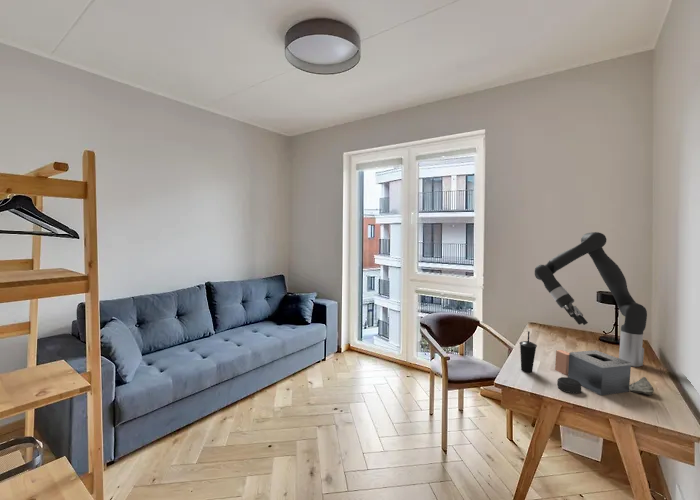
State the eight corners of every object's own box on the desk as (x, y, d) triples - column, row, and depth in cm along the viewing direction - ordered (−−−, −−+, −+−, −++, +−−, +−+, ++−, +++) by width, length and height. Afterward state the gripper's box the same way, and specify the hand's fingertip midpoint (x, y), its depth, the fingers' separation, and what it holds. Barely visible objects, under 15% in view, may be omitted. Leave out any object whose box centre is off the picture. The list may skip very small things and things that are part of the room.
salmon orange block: (555, 369, 169) (556, 350, 169) (560, 369, 170) (561, 350, 170) (565, 374, 164) (566, 354, 163) (571, 374, 165) (572, 354, 164)
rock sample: (619, 376, 154) (639, 368, 149) (629, 386, 155) (650, 379, 150) (629, 395, 145) (651, 387, 140) (640, 406, 146) (662, 398, 141)
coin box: (594, 376, 163) (595, 350, 162) (628, 391, 147) (631, 362, 147) (567, 379, 159) (569, 352, 158) (600, 395, 143) (602, 365, 142)
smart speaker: (554, 389, 148) (555, 380, 148) (560, 383, 155) (560, 374, 154) (578, 396, 142) (578, 387, 142) (583, 390, 148) (583, 381, 148)
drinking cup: (533, 369, 170) (535, 330, 169) (536, 375, 163) (539, 334, 161) (517, 366, 172) (519, 328, 171) (519, 372, 165) (521, 332, 164)
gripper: (564, 292, 172) (586, 319, 163) (572, 294, 181) (594, 320, 172) (551, 300, 176) (572, 327, 167) (559, 301, 185) (580, 327, 176)
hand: (583, 323), depth 169 cm, fingers open, 8 cm apart
